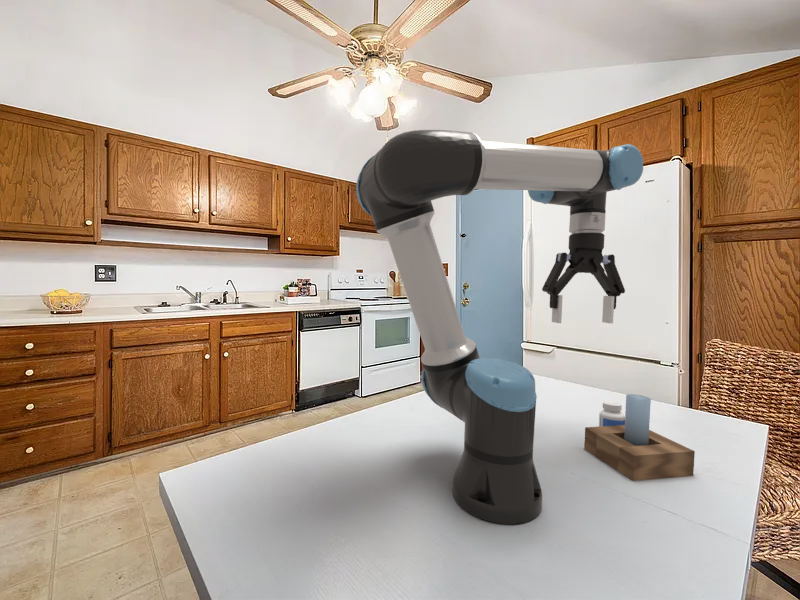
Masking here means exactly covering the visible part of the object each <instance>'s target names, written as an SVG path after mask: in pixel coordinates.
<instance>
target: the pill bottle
mask: <svg viewBox="0 0 800 600" xmlns="http://www.w3.org/2000/svg"><path fill="white" fill-rule="evenodd" d="M622 409H623V407H622V403H619V402H618V401H617V402H616V401H613V400H612V401H611V400H610V401H609V400H604V401H602V410H600V411H599V418H598V419H599V421H598V423H599V425H598V427H600V426H618V425H625V414H624V413H622V412H621V411H622Z"/></svg>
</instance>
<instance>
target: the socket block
mask: <svg viewBox="0 0 800 600" xmlns="http://www.w3.org/2000/svg"><path fill="white" fill-rule="evenodd" d="M624 431H625V425H618V426H600V427H599V426H590V427H589V426H586V427H584V445H583V446H584V447H583V448H584V450H585V451H587V452H589V453H590V454H591V455H593V456H595V457H596V458H597V459H599V460H601V461H602V462H604V463H605V464H606V465H608V466H610V467H611V468H612V469H614V470H616V471H617V472H619V473H620V474H622V475H624V476H625V477H626V478H628V479H630V480H631V482H632V481H633V482H636V481H647V480H648V481H649V480H656V479H657V480H659V479H669V478H680V477H691V476H694V469H695V468H694V467H695V453H696V452H695V450H693V449H691V448H689V447H687V446H684V445H683V444H680V443H678V442H676V441H674V440H672V439H669V438H667V437H666V436H663V435H661V434H659V433H657V432H654V431H652V430H650V429H649V441H648V445H641V446H635V445H633V444H631V443H629V442H627V441H626V440H624Z"/></svg>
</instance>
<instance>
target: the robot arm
mask: <svg viewBox="0 0 800 600" xmlns="http://www.w3.org/2000/svg"><path fill="white" fill-rule="evenodd" d="M643 172H644V158H643V155H642V153H641V151H640V150H639V148H638V147H636V146H635V145H633V144H630V143H629V144H628V143H627V144H622V145H619V146H613V147H612V148H609V149H605V150H604V149H603V150H600V149H588V148H587V149H586V148H585V149H584V148H576V147H575V148H572V147H561V146H553V145H551V146H549V145H538V144H537V145H536V144H528V143H527V144H526V143H515V142H505V141H504V142H503V141H492V140H491V141H490V140H481V138H480V137H479V136H478V135H477V134H476V133H474V132H469V131H459V130H447V129H446V130H445V129H418V130H410V131H405V132H403V133H399V134H397V135H395V136H393V137H392V138H390V139H388V141H387V142H386V143H385V144H384V145H383V146H382V147H381V149H379V151H377V152H376V153H375V154H374V155H372V156H371V157H370V158H369V159H368V160H367V161H366V162H365V163H364V164H363V166H362V168H361V170H360V171H359V174H358V176H357V180H356V186H355V188H356V189H355V190H356V191H355V192H356V197H357V200H358V203H359V205H360V207H361V208H362V210H363V211H364V212H365V214H366V213H367V214H368V216H371V218H372V219H371V220H372V221H373V224H374V227H375V230H376V232H377V233H378V234H380V235H382V236H384V237H385V238H387V240H388V241H387V242H388V243H389V246H390V250H391V252H392V256H393V259H394V261H395V264H396V267H397V270H398V272H399V273H398V274H399V275H400V276H399V277H400V280H401V282H402V285H403V288H404V291H405V294H406V296H407V300H408V302H409V305H410V309H411V312H412V315H413V318H414V321H415V324H416V327H417V330H418V333H419V335H420V338H421V341H422V344H423V347H424V351H423V353H422V355H421V357H420V361H421V364H422V367H423V369H422V370H421V375H420V378H421V385H422V388H423V390H424V392H425V394H426V395H427V396H428V398H429V399H430V400H431V401H432V402H433V403H434V404H436V406H438V407H439V408H441V409H444V410H445V411H447V412H448V413H449V414H451V415H453V416H454V417H456V418H458V419H459V420H460V421H462V422H463V423H464V434H463V436H464V437H463V438H464V439H463V440H464V441H463V443H464V444H463V452H462V454H461V456H460V459H459V462H458V465H457V467H456V470H455V472H454V475H453V480H452V495H453V498H454V500H455V502H456V503H457V504H458V506H459V507H461V508H462V509H463V510H464V511H466V512H467V513H469V514H471V515H472V516H474V517H477V518H479V519H482V520H484V521H487V522H492V523H496V524H505V525H513V524H515V525H516V524H523V523H526V522H529V521H532V520H534V519H535V518H537V517H538V515H540V514H541V511H542V509H543V492H542V491H543V490H542V487H541V484H540V480H539V475H538V474H537V470H536V466H535V462H534V441H535V440H534V439H535V423H536V407H537V396H538V395H537V392H536V379H535V377H534V375H533V373H532V372H531V371H530V370H529V369H528V368H526V367H525V366H524V365H523V366H522V365H520V364H518V363H517V362H513V361H510V360H503V359H501V358H495V357H494V358H493V357H492V358H490V357H481V358H480V355H479V351H478V348H477V345H476V342H475V341H474V340H472V339H470V338H468V337H466V334H465V331H464V327H463V325H462V323H461V322H462V321H461V319H460V315H459V312H458V310H457V307H456V304H455V300H454V297H453V294H452V291H451V288H450V284H449V281H448V278H447V275H446V271H445V268H444V265H443V261H442V259H441V255H440V253H439V249H438V245H437V242H436V239H435V236H434V233H433V229H432V226H431V221H432V219H433V217H434V215H435V209H434V205H433V203H432V201H434V200H437V199H441V198H444V197H446V198H447V197H451V196H468V195H471V193H473V192H474V191H475V190H496V191H497V190H501V191H503V190H505V191H507V190H508V191H527V193H528V196H529V198H530V199H531V200H532V201H534V202H536V203H541V204H544V205H548V204H549V205H555V206H565V207H566V206H567V207H570V208H569V227H568V229H569V230H568V232H569V233H571V234H570V235H569V236H568V250H569V252H568V253H567V252H558V253H557V254H556V256H555V261H554V264H553V266H552V268H551V270H550V273H549V274H548V276H547V278H546V280H545V282H544V284H543V286H542V288H541V290H542V292H543V293H544V292H545V293H547V294H548V295H549V308H550V309H551V323H555V324H562V315H563V294H562V295H561V294H560V293H561V292H562V291H563V290H564V288H565V287H566V286H567V285H568V284H569V283H570V281H571V280H572V279H573V278H574V277H575V275H578V274H581V273H585V274H591V275H592V276H594V278H595V279H596V281H597V283H598V284H599V285H600V286H601V288H602V290H603V292H605V294H606V295H603V298H602V316H601V317H602V318H601V323H606V324H614V311H615V310H616V308H617V297H620V296H621V295H622V294H624V293H626V289H625V287H624V284H623V281H622V279H621V277H620V274H619V271H618V268H617V266H616V260H615V258H616V257H615V255H614V254H604V255H603V250H604V248H605V236H606V235H605V234H604V233H603V232H604V231H606V230H605V228H606V214H607V213H606V212H607V211H606V206H607V205H606V204H607V192H610V191H611V192H612V191H615V190H617V191H620V190H622V189H624V188H627V187H630V186H633V185H635V184H636V183H637V182H639V180H640V178H642V175H643ZM567 262H568V263H569V265H568V266H567V267H566V268H565V266H566V264H567ZM602 265H603V266H602ZM563 270H564V272H563ZM562 272H563V273H562ZM561 274H562V275H561Z"/></svg>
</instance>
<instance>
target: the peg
mask: <svg viewBox="0 0 800 600" xmlns="http://www.w3.org/2000/svg"><path fill="white" fill-rule="evenodd" d="M651 400H652V399H651V398H650V397H648V396H645V395H642V394H633V393H631V394H629V393H628V394H626V396H625V414H624V416H625V431H624V440H626V441H627V442H629V443H631V444H633V445H635V446H641V445H648V441H649V430H650V422H651V421H650V419H651V417H650V416H651V402H652V401H651Z"/></svg>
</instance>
